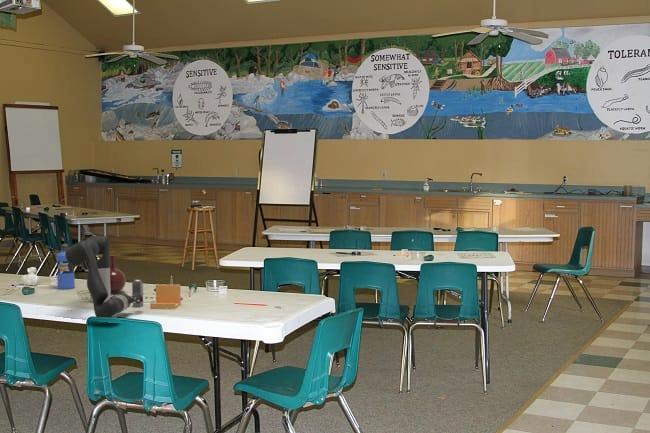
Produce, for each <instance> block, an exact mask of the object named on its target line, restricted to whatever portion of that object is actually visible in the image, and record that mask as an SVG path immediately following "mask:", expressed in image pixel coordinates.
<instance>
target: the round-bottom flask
mask: <svg viewBox="0 0 650 433" xmlns="http://www.w3.org/2000/svg"><path fill="white" fill-rule="evenodd" d="M126 282H127V281H126V276H125V274H124V272H123V271H121V270H120V269H118V268H116V255H110V289H111V294H117V293H120V292H121V291H122V290H123V289H124V288H125V286H126Z"/></svg>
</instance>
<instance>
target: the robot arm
mask: <svg viewBox="0 0 650 433" xmlns="http://www.w3.org/2000/svg"><path fill="white" fill-rule="evenodd" d="M110 249H111V240H110V238H109V236H107V235H93V236H90V237H88V239H84V240H81V241H78V242H76V243H75V244H73V245H71V246H70V247H69V248H68V249H67V250H66V253H65V256H66V259H67V261H68V262H69V263H70V264H71V265H73V267H79V266H81V265H83V264H85V263H86V262H87V265H88V267H87V269H88V270H87V278H86V286H87V287H86V288H87V290H88V292H89V295H90V302H91V303H93V310H94V315H95V317H96V318H97V317H111V318H112V317H114V316H116V314H119V313H121V312H124V311H125V310H127V309H129V307H130V306H131V304H133V303H135V302H136V303H137V304H138V303H140V302H142V301H143V302H144V295H143V296H141V295H137V296H134V295H128V294H127V293H124V292H123V293H119V294H117V295H112V293H111V289H110V256H111V254H110ZM97 255H102V257H100V258H99V259H96V256H97ZM136 297H137V298H136Z"/></svg>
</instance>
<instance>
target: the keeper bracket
mask: <svg viewBox="0 0 650 433" xmlns="http://www.w3.org/2000/svg"><path fill="white" fill-rule="evenodd" d="M181 297H182V296H181V284H173V285H170V284H155V302H150V304H149V309H151V310H164V309H163V308H167V309H166V310H170V309H169V308H175V309H177V308H179V307H180V306H181V305H182V303H181V302H182V300H181ZM179 305H180V306H179ZM176 307H177V308H176Z"/></svg>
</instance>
